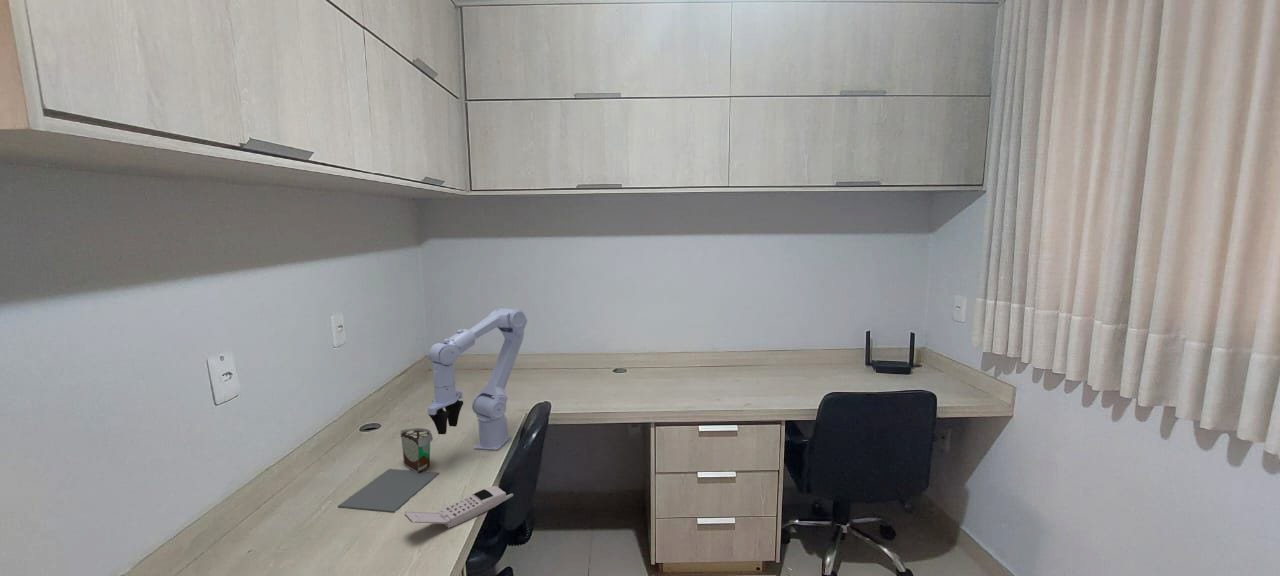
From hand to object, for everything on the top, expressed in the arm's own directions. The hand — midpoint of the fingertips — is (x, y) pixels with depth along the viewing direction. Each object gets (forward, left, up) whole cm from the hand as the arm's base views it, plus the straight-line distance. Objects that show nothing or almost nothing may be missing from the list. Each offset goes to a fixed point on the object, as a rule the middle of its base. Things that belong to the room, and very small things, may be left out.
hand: (447, 429), depth 145 cm
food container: (+3, -8, -11) cm, 13 cm away
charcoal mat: (+16, -8, -10) cm, 20 cm away
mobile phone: (+24, +18, -11) cm, 32 cm away
